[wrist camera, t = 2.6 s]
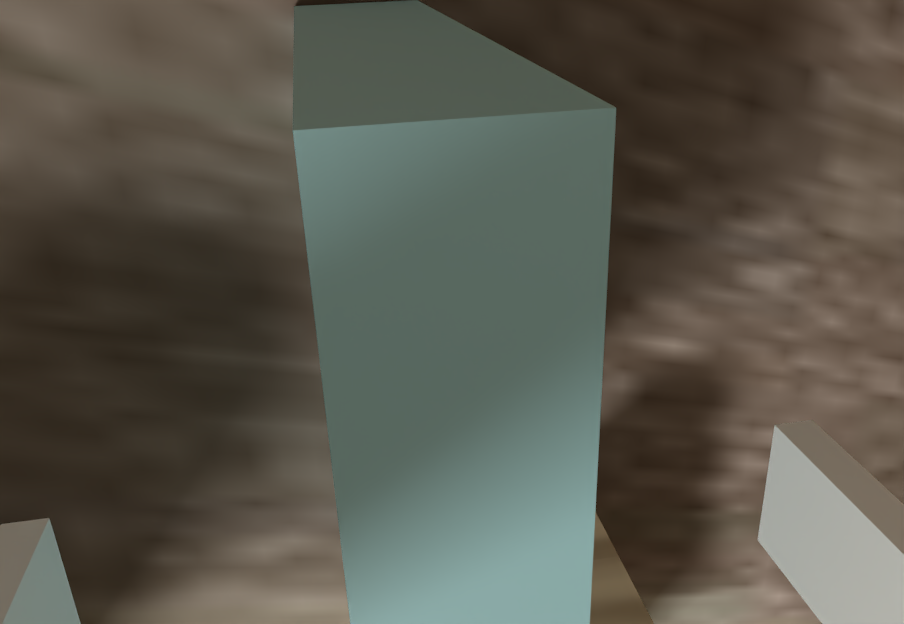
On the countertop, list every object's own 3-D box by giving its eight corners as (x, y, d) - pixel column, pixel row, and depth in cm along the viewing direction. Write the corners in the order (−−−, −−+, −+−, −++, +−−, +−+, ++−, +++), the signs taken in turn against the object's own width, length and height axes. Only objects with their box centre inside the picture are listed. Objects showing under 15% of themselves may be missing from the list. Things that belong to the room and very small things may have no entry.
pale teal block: (294, 5, 20) (292, 130, 7) (417, 0, 20) (615, 107, 8) (350, 528, 27) (401, 1058, 14) (442, 516, 27) (568, 1020, 14)
